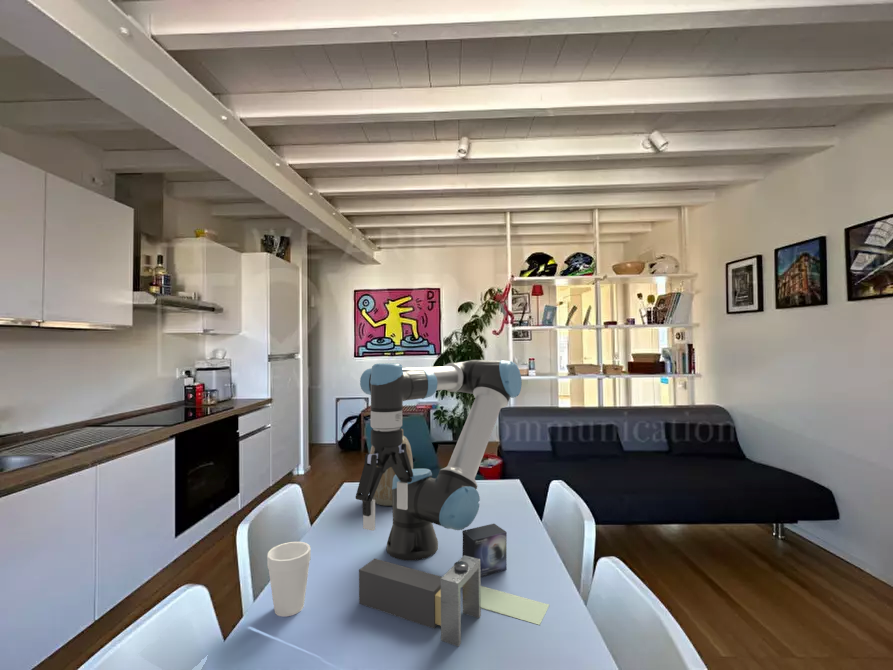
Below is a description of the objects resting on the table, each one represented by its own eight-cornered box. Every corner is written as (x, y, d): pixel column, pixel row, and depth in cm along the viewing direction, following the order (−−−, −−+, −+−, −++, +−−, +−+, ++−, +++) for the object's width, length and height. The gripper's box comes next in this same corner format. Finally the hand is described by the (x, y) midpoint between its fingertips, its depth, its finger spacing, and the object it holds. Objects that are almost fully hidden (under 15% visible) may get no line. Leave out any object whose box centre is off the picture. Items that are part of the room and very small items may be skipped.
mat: (463, 603, 101) (463, 601, 101) (477, 586, 108) (477, 584, 108) (539, 626, 92) (539, 624, 92) (549, 606, 99) (549, 604, 99)
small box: (473, 581, 110) (473, 539, 110) (461, 569, 116) (460, 530, 116) (508, 571, 115) (507, 531, 115) (494, 560, 121) (493, 522, 121)
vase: (411, 508, 160) (410, 434, 160) (364, 508, 160) (364, 434, 161) (415, 492, 177) (414, 425, 178) (373, 492, 177) (372, 426, 178)
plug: (359, 604, 101) (358, 569, 101) (374, 591, 106) (374, 558, 106) (440, 632, 91) (439, 593, 91) (453, 616, 96) (452, 579, 97)
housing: (441, 640, 88) (440, 574, 88) (464, 611, 98) (464, 551, 98) (458, 647, 86) (458, 579, 86) (480, 616, 96) (480, 555, 96)
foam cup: (285, 626, 93) (284, 565, 93) (258, 612, 98) (258, 554, 98) (319, 603, 101) (319, 547, 101) (293, 592, 106) (293, 538, 106)
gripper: (367, 439, 90) (367, 542, 90) (426, 421, 113) (426, 503, 112) (339, 436, 94) (338, 535, 93) (401, 419, 116) (401, 499, 115)
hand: (386, 518), depth 103 cm, fingers open, 13 cm apart
